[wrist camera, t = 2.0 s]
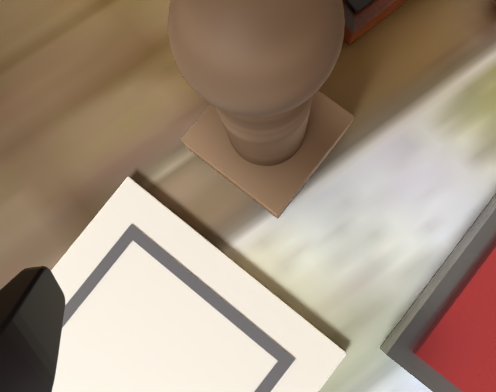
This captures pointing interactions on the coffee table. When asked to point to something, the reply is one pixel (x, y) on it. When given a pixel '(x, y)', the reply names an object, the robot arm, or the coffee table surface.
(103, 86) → the coffee table surface
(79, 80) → the coffee table surface
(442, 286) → the ink pad
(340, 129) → the stamp
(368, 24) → the picture frame
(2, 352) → the robot arm
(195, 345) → the card
